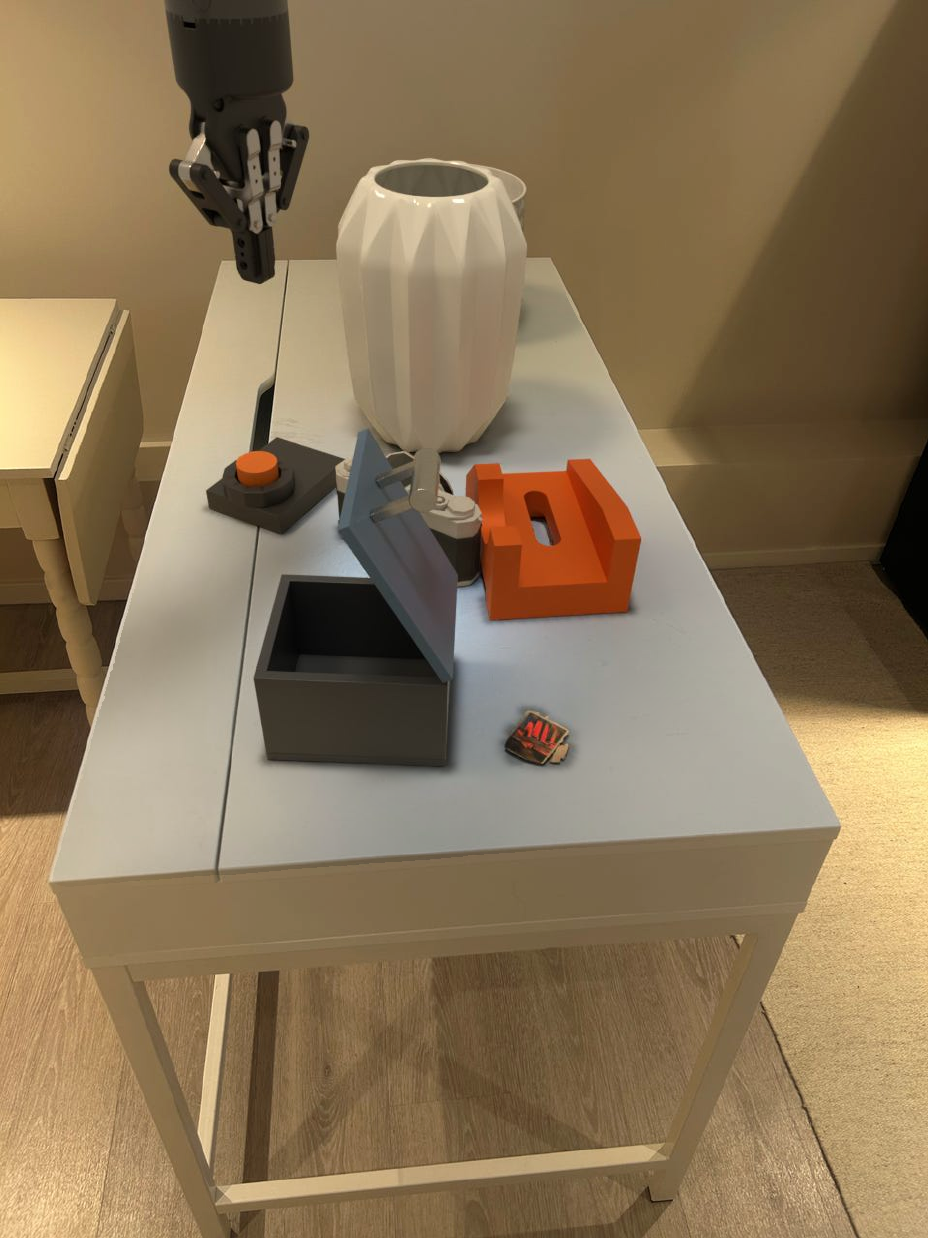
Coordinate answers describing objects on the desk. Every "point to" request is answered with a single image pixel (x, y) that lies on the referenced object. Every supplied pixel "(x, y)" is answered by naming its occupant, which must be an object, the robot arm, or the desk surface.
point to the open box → (346, 679)
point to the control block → (277, 487)
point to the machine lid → (403, 545)
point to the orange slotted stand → (583, 542)
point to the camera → (438, 519)
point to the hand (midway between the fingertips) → (257, 278)
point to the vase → (430, 299)
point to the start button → (257, 468)
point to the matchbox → (537, 738)
